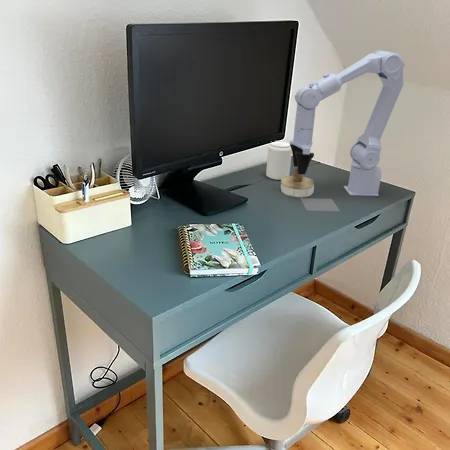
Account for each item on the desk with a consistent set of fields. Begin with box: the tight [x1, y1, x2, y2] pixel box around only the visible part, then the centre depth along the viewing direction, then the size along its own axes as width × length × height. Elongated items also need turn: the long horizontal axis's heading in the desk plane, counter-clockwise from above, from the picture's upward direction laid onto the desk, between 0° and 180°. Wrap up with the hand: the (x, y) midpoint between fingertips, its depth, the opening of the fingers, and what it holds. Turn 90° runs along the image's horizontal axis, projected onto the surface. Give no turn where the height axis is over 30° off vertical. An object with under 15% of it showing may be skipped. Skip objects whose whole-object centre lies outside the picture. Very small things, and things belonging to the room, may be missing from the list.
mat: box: [299, 197, 341, 212], centre depth 151 cm, size 10×10×1 cm
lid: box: [280, 168, 315, 189], centre depth 158 cm, size 10×10×4 cm
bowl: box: [280, 183, 315, 198], centre depth 160 cm, size 10×10×3 cm
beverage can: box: [265, 140, 293, 181], centre depth 171 cm, size 8×8×12 cm
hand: (299, 170), depth 157 cm, fingers open, 7 cm apart
